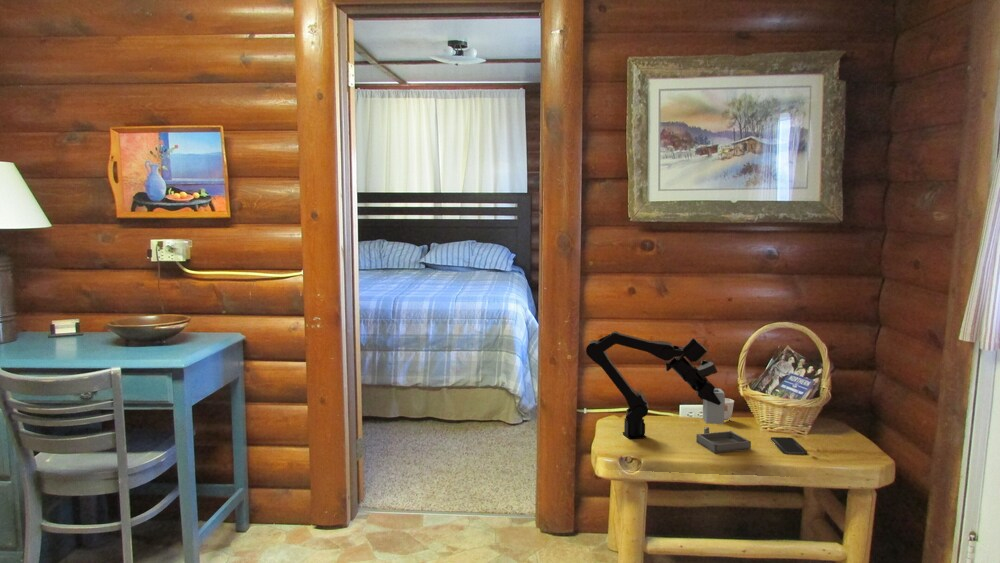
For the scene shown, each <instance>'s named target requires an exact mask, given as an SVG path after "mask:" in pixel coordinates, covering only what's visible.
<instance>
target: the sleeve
mask: <svg viewBox="0 0 1000 563" xmlns="http://www.w3.org/2000/svg"><path fill="white" fill-rule="evenodd" d="M714 393H715V395H716V396H717V398H718V399H719V401H720V402H721V404H720V405H717V404H715V403H712V402H710V401H707V400H704V399H703V400H702V419H703V421H704V422H705V424H707V425H710V424H711V425H715V424H717V425H724V424H725V422H724V411H728V405H727V404H725V398H726V397H725V395H726V393H725V392H724V391H723V389H721V388H715V389H714Z"/></svg>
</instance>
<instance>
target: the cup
mask: <svg viewBox="0 0 1000 563" xmlns="http://www.w3.org/2000/svg"><path fill="white" fill-rule="evenodd" d="M725 404H727V405H728V411H724V420H728V419H730V420H731V418H732V415H733V410H734V404H735V400H733V399H731V398H726V397H725Z"/></svg>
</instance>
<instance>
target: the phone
mask: <svg viewBox="0 0 1000 563" xmlns="http://www.w3.org/2000/svg"><path fill="white" fill-rule="evenodd" d="M771 440H772V441H773V442H774V443H775V444H774V443H773V442H772V441H771ZM770 441H771V442H772V443H773V444H774V445H775V447H776V448H777V449H779V451H780V452H781V453H782V454H783V455H797V456H798V455H799V456H800V455H801V456H806V455H808V451H807V449H805V448H804V447H803V446H802V445H801V444H800V443H799V441H797V440H796V439H795V438H793V437H785V436H784V437H782V436H781V437H777V436H773V437H770Z"/></svg>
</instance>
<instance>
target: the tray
mask: <svg viewBox="0 0 1000 563" xmlns="http://www.w3.org/2000/svg"><path fill="white" fill-rule="evenodd" d="M695 441H696V443H697V444H699V445H700V446H702V447H704V448H705V449H707V450H709V451H710V452H712V453H713V454H722V453H732V452H743V451H750V450H752V448H751V447H752V441H750V440H749V439H747V438H745V437H743V436H741V435H739V434H737V433H735V432H734V431H732V430H729V431H727V430H726V431H716V432H709V433H705V434H704V433H696V440H695Z"/></svg>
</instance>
